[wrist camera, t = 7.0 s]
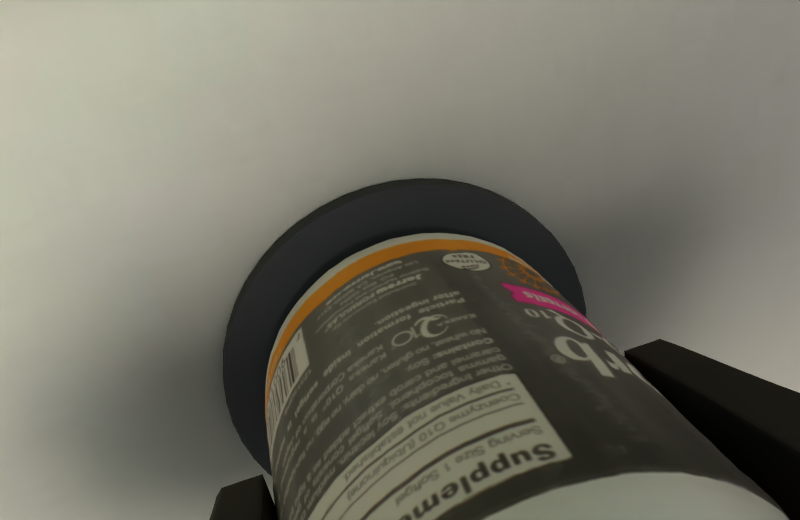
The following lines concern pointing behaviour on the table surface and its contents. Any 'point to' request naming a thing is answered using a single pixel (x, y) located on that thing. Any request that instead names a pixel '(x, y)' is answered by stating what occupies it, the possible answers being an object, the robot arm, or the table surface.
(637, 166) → the table surface
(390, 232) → the coaster
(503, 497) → the pill bottle
